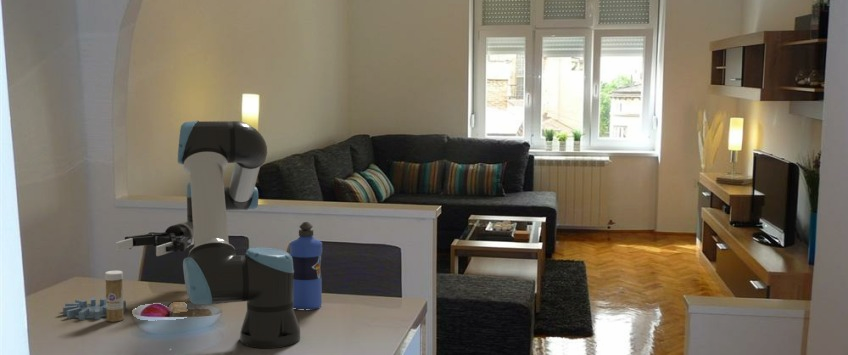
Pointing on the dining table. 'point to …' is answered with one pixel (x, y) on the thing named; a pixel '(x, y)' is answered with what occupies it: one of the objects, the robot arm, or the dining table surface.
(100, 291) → the dining table surface
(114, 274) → the sprinkles bottle
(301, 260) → the water bottle
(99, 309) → the blue gear trivet
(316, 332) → the dining table surface
